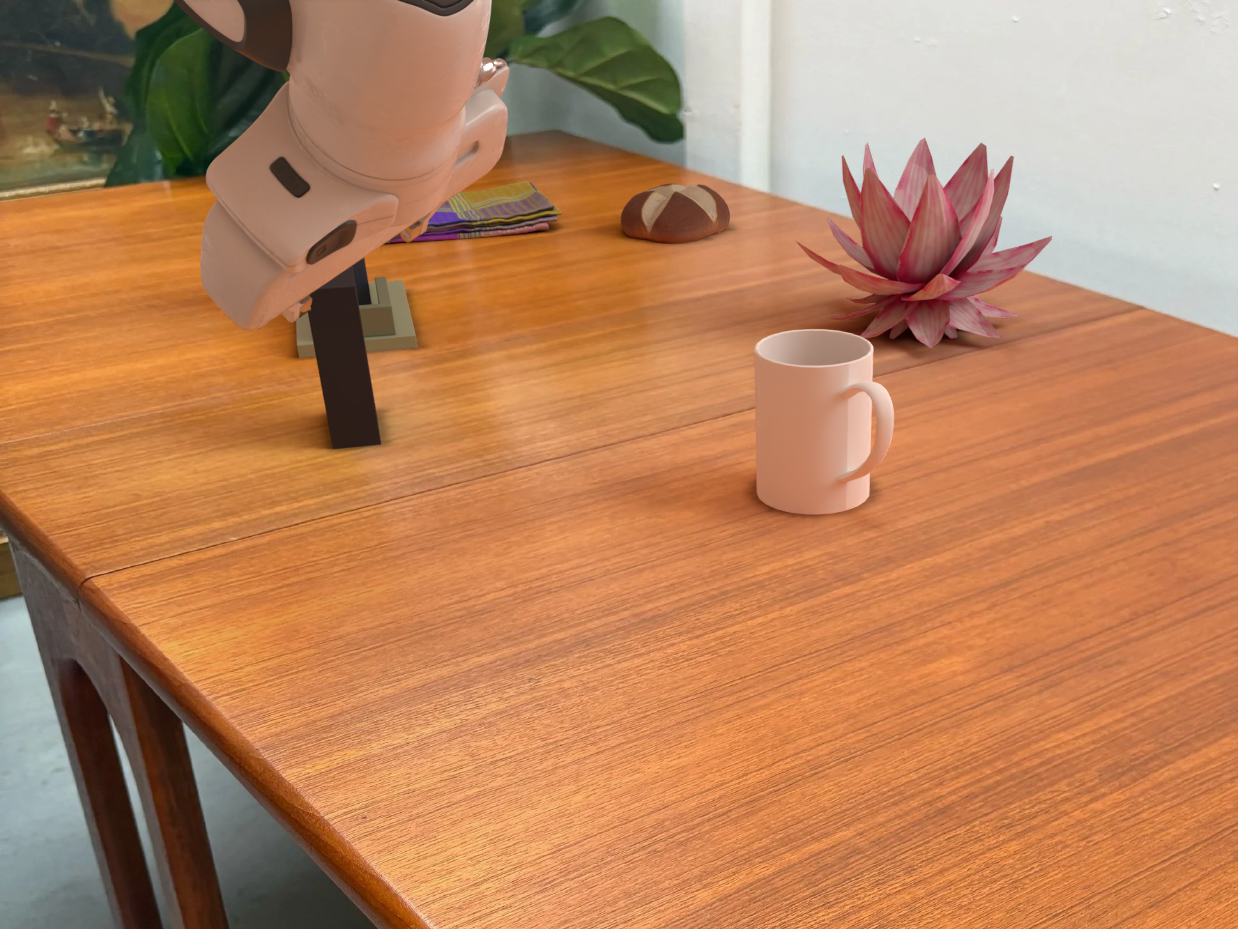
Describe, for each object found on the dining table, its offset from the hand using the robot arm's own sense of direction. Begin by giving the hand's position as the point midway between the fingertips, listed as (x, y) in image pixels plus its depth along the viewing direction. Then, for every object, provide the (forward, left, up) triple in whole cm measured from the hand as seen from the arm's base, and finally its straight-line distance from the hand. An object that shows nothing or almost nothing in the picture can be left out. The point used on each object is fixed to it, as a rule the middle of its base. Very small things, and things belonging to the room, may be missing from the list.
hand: (350, 268), depth 93 cm
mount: (-1, +44, -17) cm, 47 cm away
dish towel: (+10, +80, -17) cm, 83 cm away
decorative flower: (+48, +28, -17) cm, 58 cm away
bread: (+34, +69, -17) cm, 79 cm away
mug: (+29, -7, -17) cm, 34 cm away
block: (-2, +16, -17) cm, 23 cm away
